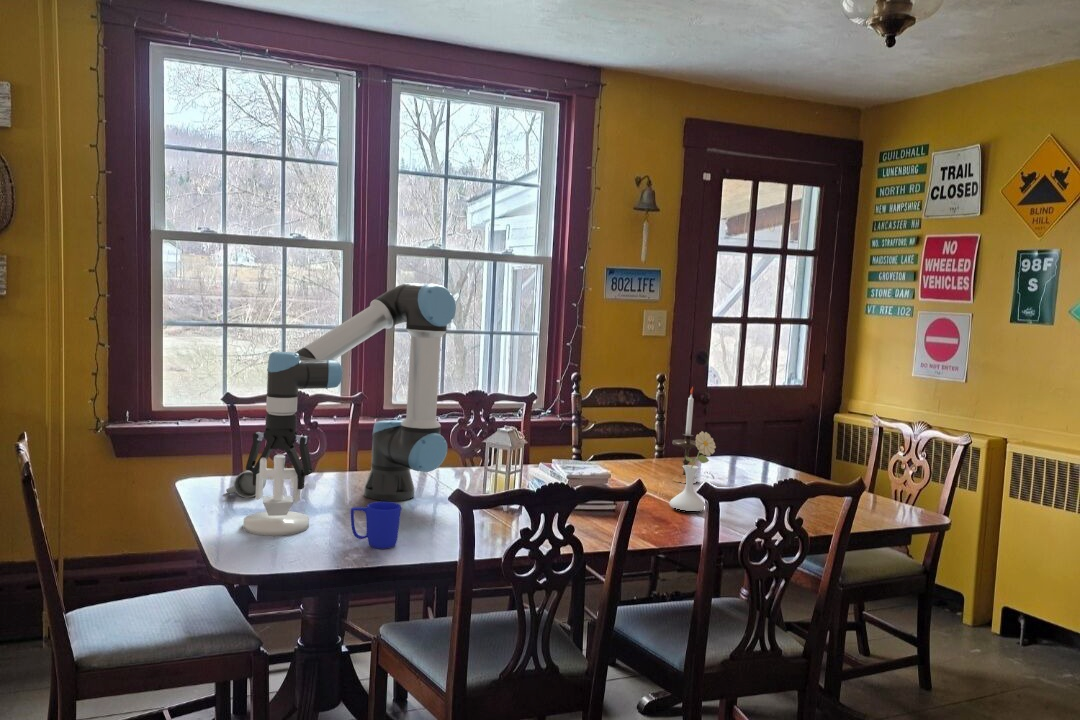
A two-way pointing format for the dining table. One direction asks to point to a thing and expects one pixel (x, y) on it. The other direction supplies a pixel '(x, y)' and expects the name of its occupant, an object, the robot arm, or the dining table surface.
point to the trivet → (276, 524)
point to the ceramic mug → (244, 485)
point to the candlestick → (687, 433)
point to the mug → (380, 523)
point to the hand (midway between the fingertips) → (277, 499)
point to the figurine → (277, 486)
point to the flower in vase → (688, 496)
